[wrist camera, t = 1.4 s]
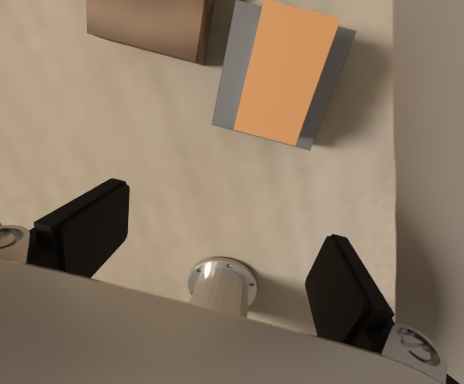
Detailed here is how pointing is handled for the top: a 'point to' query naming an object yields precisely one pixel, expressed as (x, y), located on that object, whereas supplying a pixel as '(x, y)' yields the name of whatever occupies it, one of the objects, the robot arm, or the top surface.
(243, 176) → the top surface
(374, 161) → the top surface
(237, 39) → the stand
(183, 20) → the stand
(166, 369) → the robot arm
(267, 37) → the cover
